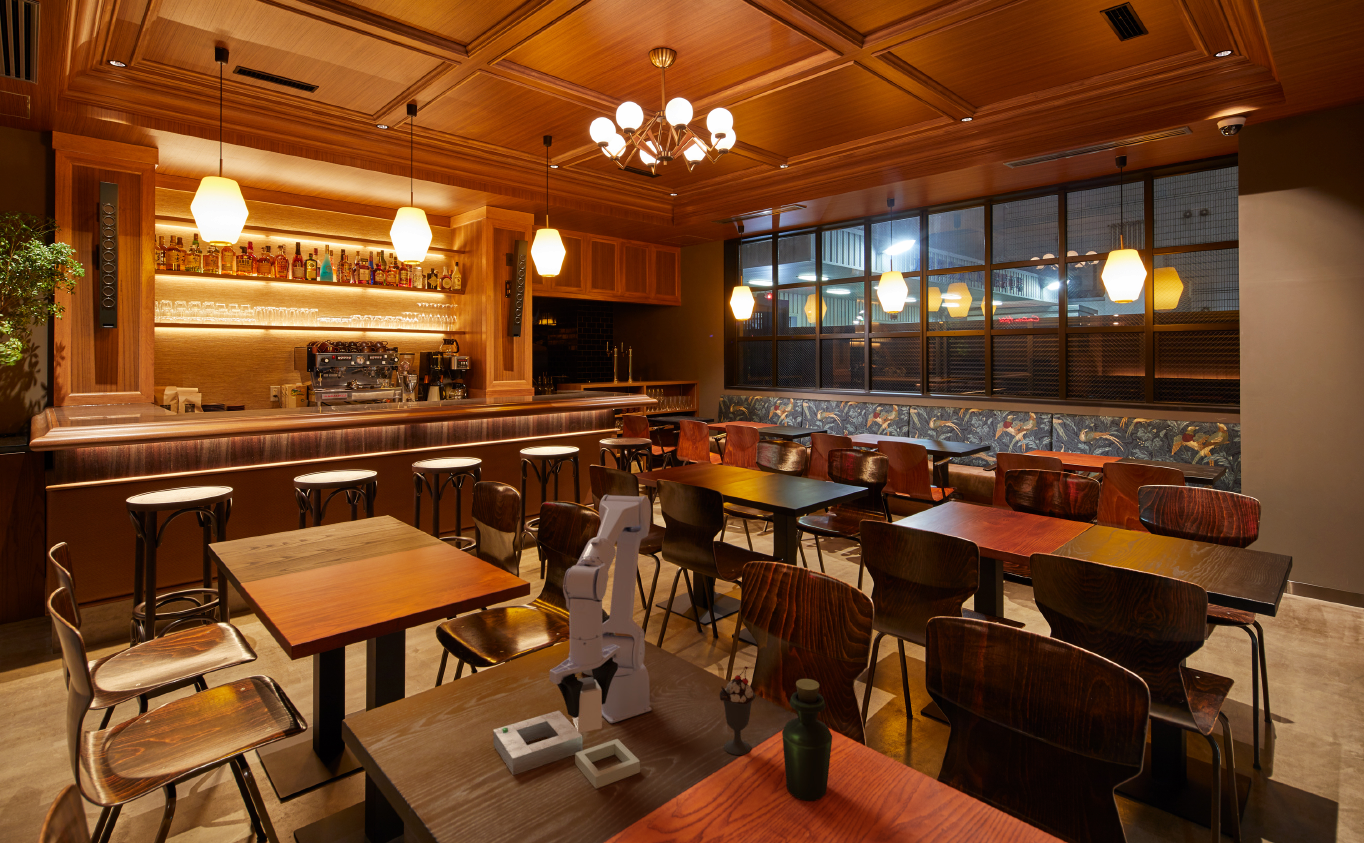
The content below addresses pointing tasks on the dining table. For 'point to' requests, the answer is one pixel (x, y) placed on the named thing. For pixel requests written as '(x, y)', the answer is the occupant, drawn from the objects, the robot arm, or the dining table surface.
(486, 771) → the dining table surface
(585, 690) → the plug
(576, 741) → the port block
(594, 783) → the beige square frame
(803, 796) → the potion bottle
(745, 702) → the sundae
